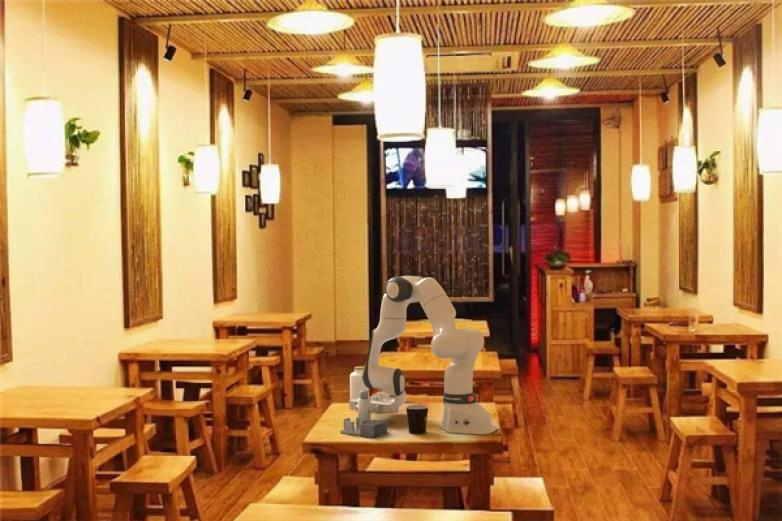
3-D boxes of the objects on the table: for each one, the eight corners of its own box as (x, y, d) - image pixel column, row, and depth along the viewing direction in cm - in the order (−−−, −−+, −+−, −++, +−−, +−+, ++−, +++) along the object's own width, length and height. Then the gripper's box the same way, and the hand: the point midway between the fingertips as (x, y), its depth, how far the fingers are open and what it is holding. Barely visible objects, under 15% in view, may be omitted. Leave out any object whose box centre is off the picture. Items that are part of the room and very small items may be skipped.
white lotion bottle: (373, 425, 353) (372, 390, 352) (366, 427, 348) (366, 392, 348) (362, 424, 355) (362, 389, 355) (355, 426, 351) (355, 391, 350)
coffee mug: (415, 429, 345) (415, 403, 345) (433, 432, 340) (432, 406, 340) (396, 434, 336) (396, 408, 336) (414, 437, 331) (414, 411, 331)
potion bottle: (360, 410, 382) (360, 369, 382) (346, 408, 387) (345, 367, 387) (372, 407, 389) (372, 366, 388) (358, 405, 394) (357, 365, 393)
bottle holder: (387, 432, 340) (387, 419, 339) (374, 438, 331) (373, 424, 331) (352, 428, 347) (352, 415, 347) (339, 433, 339) (338, 420, 339)
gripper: (359, 393, 368) (341, 398, 356) (401, 397, 358) (384, 403, 346) (359, 408, 368) (341, 414, 356) (402, 412, 358) (385, 419, 346)
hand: (363, 408), depth 351 cm, fingers closed on white lotion bottle, 5 cm apart
